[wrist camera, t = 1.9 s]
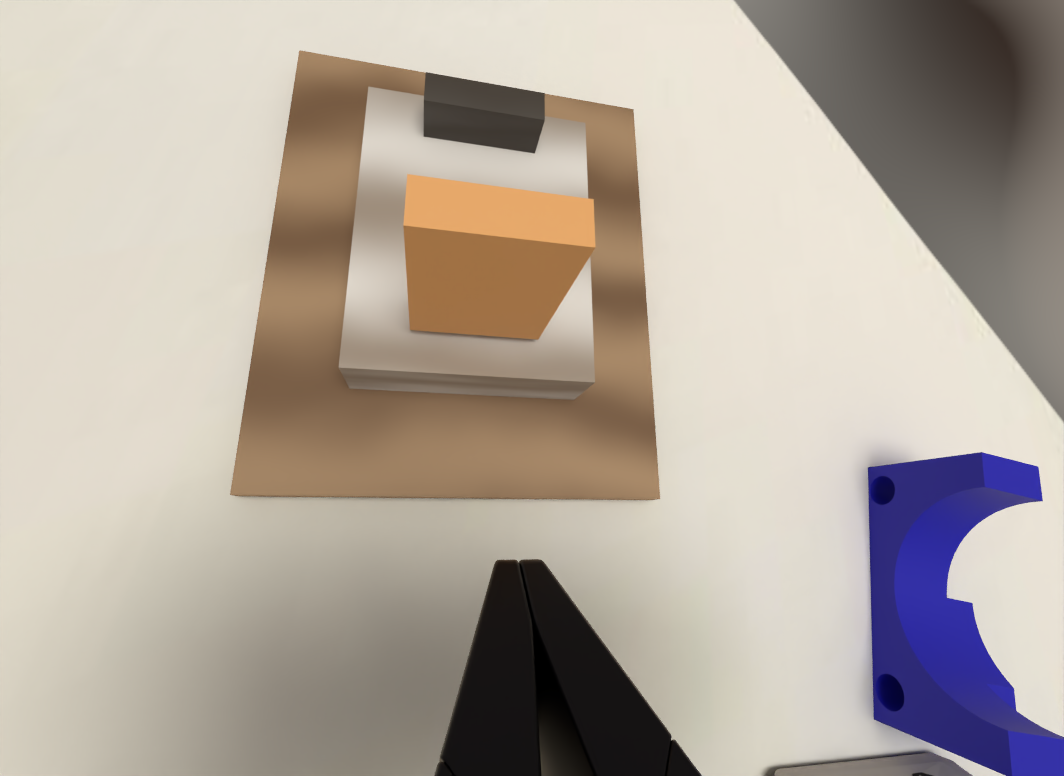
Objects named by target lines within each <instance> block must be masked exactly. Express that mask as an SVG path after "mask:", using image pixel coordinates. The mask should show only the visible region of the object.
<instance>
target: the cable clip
mask: <svg viewBox="0 0 1064 776" xmlns="http://www.w3.org/2000/svg"><path fill="white" fill-rule="evenodd" d="M868 485H869V529H870V572H871V616H872V659H873V703H874V720H877V721H879V722H881V723H884V724H886V725H889V726H891V727H893V728H896V729H898V730H900V731H903V732H905V733H907V734H910V735H912V736H914V737H917V738H919V739H921V740H924V741H926V742H928V743H931V744H933V745H935V746H938V747H940V748H942V749H945V750H947V751H950V752H952V753H954V754H957V755H959V756H961V757H964V758H966V759H968V760H971V761H973V762H975V763H978V764H980V765H982V766H985V767H987V768H989V769H992V770H994V771H996V772H999V773H1001V774H1004V775H1006V776H1064V737H1062V736H1059V735H1057V734H1055V733H1053V732H1050V731H1048V730H1046V729H1044V728H1042V727H1040V726H1039V725H1037V724H1035V723H1034V722H1032V721H1030V720H1028V719H1027V718H1026V717H1024V716H1023V715H1021V714H1020V713H1018V712H1017V711H1016V705H1015V695H1014V688H1013V687H1012V686H1011V685H1010V683H1009V682H1008V681H1007V680H1006V679H1005V677H1004V676H1003V675H1002V674H1001V672H1000V671H999V669H998V668H997V667H996V665H995V664H994V662H993V660H992V659H991V657H990V655H989V654H988V652H987V650H986V648H985V646H984V644H983V642H982V639H981V637H980V634H979V631H978V628H977V625H976V621H975V617H974V612H973V604H972V603H969V602H964V601H959V600H954V599H949V598H947V579H948V572H949V568H950V564H951V561H952V559H953V556H954V553H955V552H956V550H957V548H958V546H959V544H960V543H961V541H962V540H963V538H964V537H965V536H966V535H967V534H968V532H969V531H970V530H971V529H972V528H973V527H975V526H976V525H977V524H978V523H979V522H981V521H982V520H983V519H985V518H986V517H988V516H990V515H992V514H993V513H995V512H997V511H1000V510H1002V509H1005V508H1007V507H1011V506H1014V505H1017V504H1023V503H1028V502H1037V501H1043V500H1042V492H1041V484H1040V477H1039V469H1038V467H1037V466H1033V465H1029V464H1025V463H1022V462H1018V461H1014V460H1010V459H1006V458H1002V457H998V456H994V455H990V454H986V453H982V452H981V453H973V454H966V455H958V456H951V457H943V458H936V459H928V460H921V461H913V462H906V463H898V464H891V465H884V466H876V467H869V468H868Z"/></svg>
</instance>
